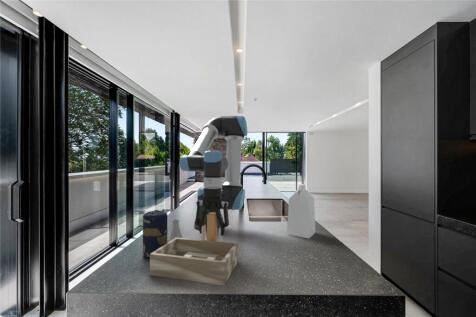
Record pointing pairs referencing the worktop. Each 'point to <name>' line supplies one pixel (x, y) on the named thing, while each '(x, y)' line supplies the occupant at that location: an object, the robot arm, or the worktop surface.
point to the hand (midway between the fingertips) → (211, 242)
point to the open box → (195, 260)
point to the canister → (154, 231)
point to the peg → (211, 227)
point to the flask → (174, 230)
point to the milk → (301, 214)
